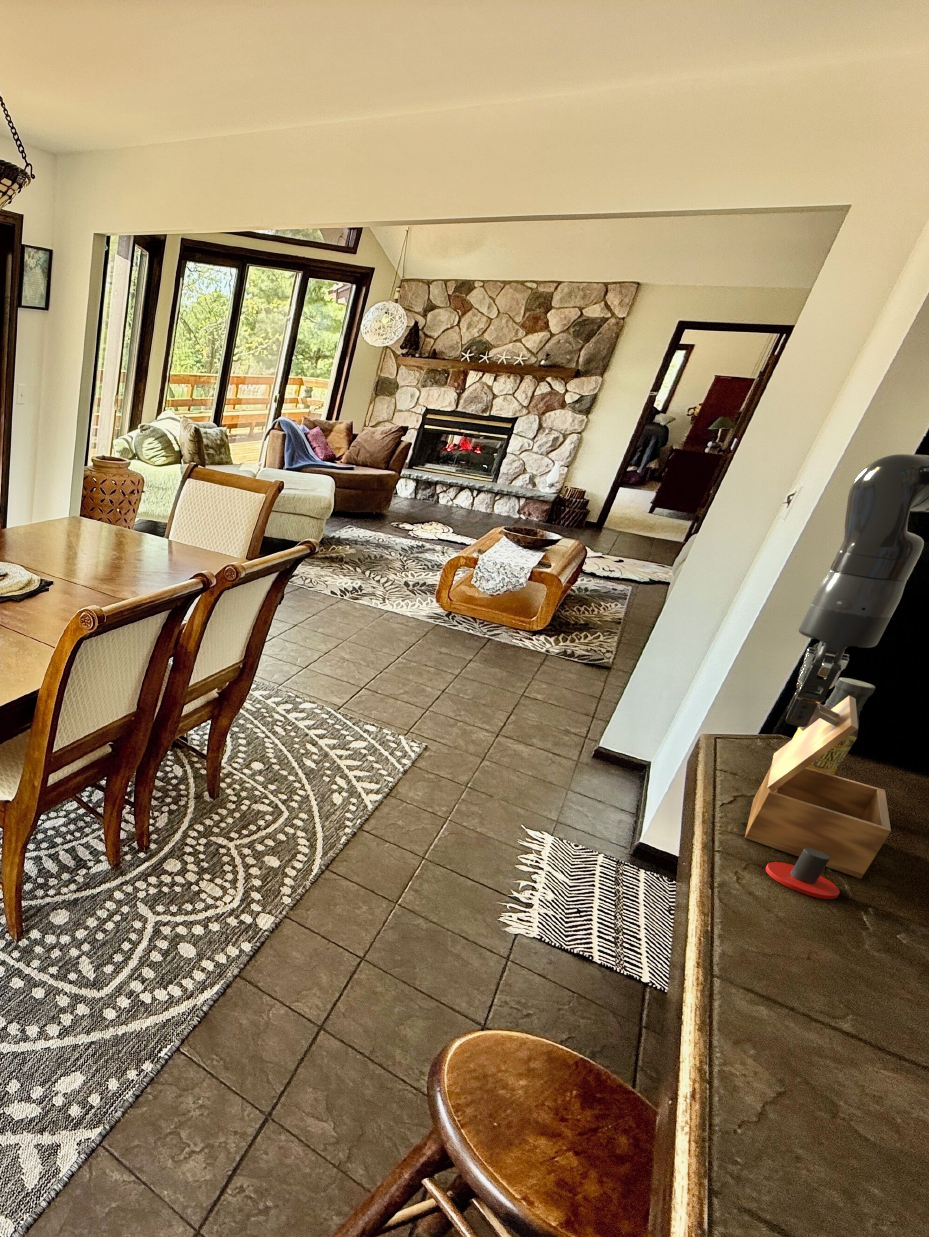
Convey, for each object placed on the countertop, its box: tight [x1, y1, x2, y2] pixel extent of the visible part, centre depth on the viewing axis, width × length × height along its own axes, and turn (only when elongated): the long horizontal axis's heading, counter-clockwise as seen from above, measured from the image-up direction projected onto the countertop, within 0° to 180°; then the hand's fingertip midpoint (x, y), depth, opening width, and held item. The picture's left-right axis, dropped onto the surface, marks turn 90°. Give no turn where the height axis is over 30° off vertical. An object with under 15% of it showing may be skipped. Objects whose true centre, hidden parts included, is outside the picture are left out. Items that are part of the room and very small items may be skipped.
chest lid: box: [767, 696, 859, 791], centre depth 101 cm, size 12×17×5 cm
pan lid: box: [765, 848, 841, 900], centre depth 91 cm, size 7×7×5 cm
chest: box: [744, 764, 892, 880], centre depth 101 cm, size 12×17×8 cm
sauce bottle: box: [792, 677, 876, 775], centre depth 112 cm, size 7×6×20 cm
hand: (796, 719), depth 100 cm, fingers closed on chest lid, 5 cm apart
